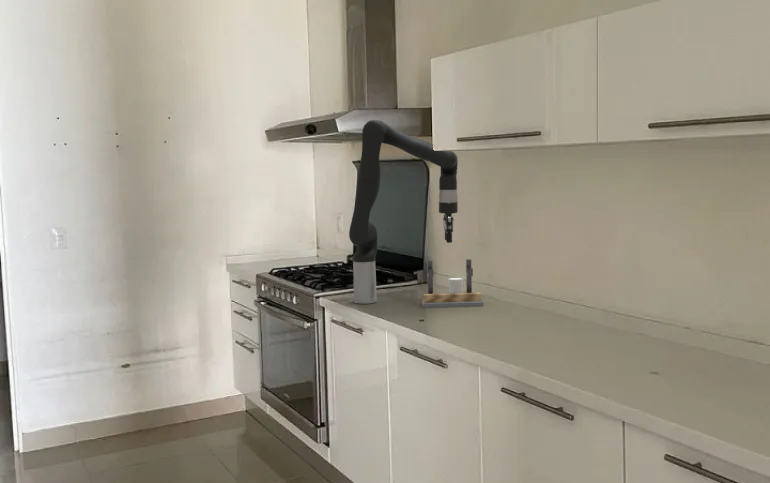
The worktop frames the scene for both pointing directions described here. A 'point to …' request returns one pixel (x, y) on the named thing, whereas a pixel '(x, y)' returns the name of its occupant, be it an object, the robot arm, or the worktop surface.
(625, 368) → the worktop surface
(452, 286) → the beige white-topped cylinder
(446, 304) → the slate mat
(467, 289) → the charcoal rack
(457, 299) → the oak rail
